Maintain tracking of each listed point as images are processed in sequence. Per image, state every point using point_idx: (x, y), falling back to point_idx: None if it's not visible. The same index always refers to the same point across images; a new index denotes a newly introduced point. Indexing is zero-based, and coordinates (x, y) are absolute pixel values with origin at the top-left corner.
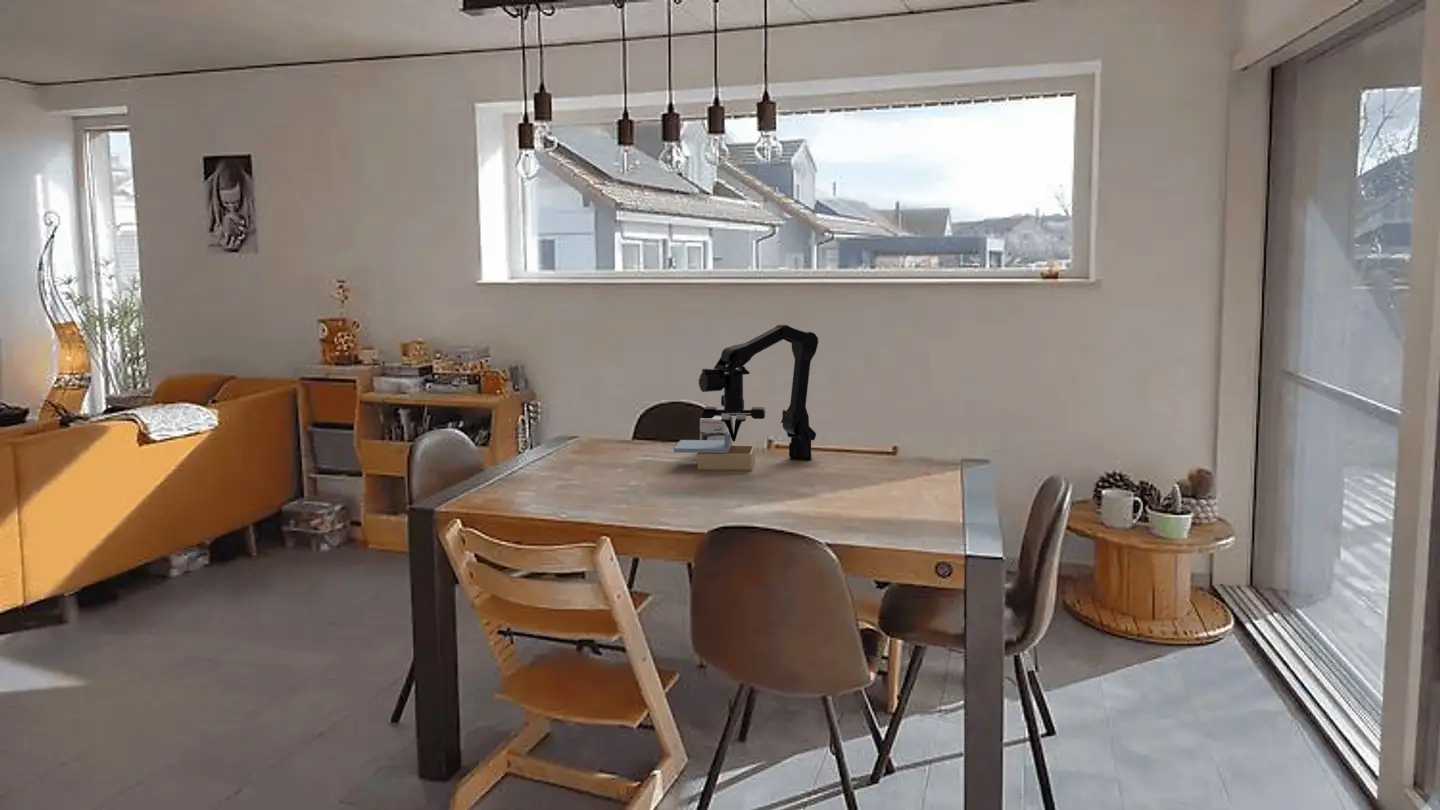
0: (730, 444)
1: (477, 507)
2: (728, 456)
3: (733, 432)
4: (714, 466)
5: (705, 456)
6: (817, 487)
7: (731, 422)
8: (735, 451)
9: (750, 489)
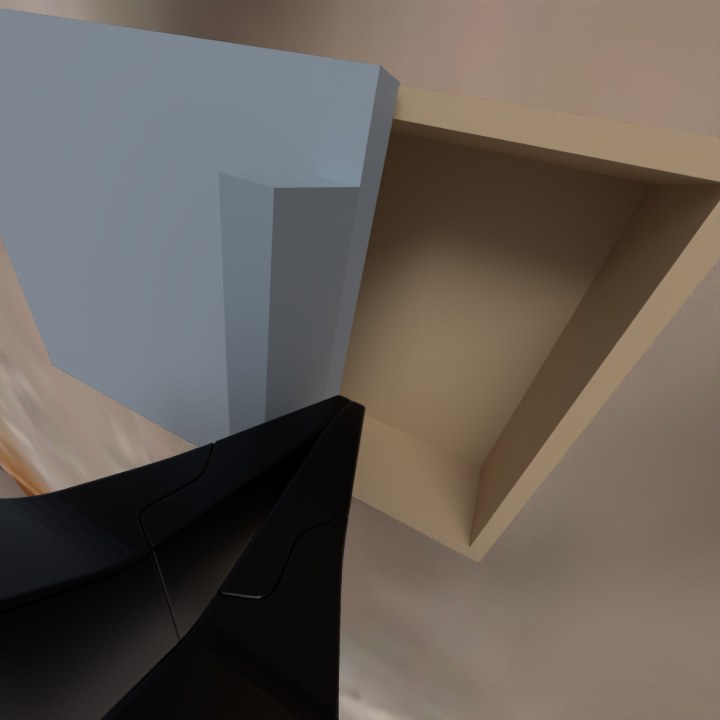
0: (346, 299)
1: (25, 478)
2: None
3: (289, 477)
4: None
5: None
6: None
7: (120, 696)
8: (457, 137)
9: (401, 648)
